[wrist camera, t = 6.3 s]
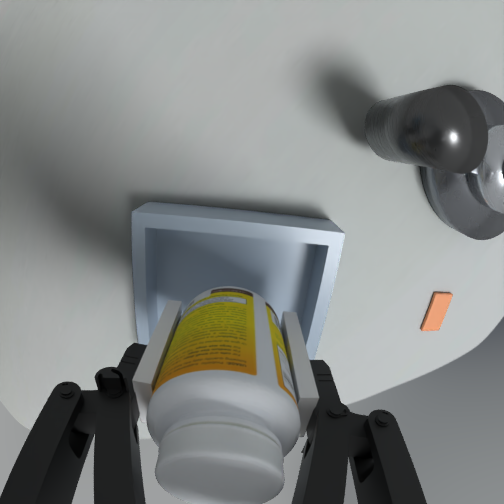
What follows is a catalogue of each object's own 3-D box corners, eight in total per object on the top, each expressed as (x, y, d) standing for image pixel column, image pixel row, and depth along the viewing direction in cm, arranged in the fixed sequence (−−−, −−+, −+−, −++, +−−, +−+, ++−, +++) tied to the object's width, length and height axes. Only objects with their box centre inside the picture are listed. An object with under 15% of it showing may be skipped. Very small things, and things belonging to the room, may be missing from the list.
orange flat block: (420, 329, 22) (422, 331, 22) (434, 292, 21) (436, 293, 21) (437, 328, 22) (438, 330, 22) (451, 293, 21) (452, 294, 21)
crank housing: (407, 221, 19) (421, 229, 17) (425, 71, 15) (441, 66, 13) (499, 239, 19) (514, 247, 18) (517, 120, 16) (532, 121, 14)
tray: (152, 350, 22) (142, 374, 19) (148, 201, 18) (131, 211, 15) (298, 363, 23) (304, 389, 20) (330, 220, 19) (345, 233, 16)
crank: (518, 139, 14) (577, 149, 8) (508, 214, 16) (564, 239, 10) (369, 74, 14) (427, 45, 8) (357, 175, 16) (414, 193, 10)
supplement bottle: (163, 330, 17) (102, 474, 7) (222, 261, 16) (191, 403, 6) (237, 380, 18) (234, 527, 8) (299, 322, 17) (349, 474, 7)
